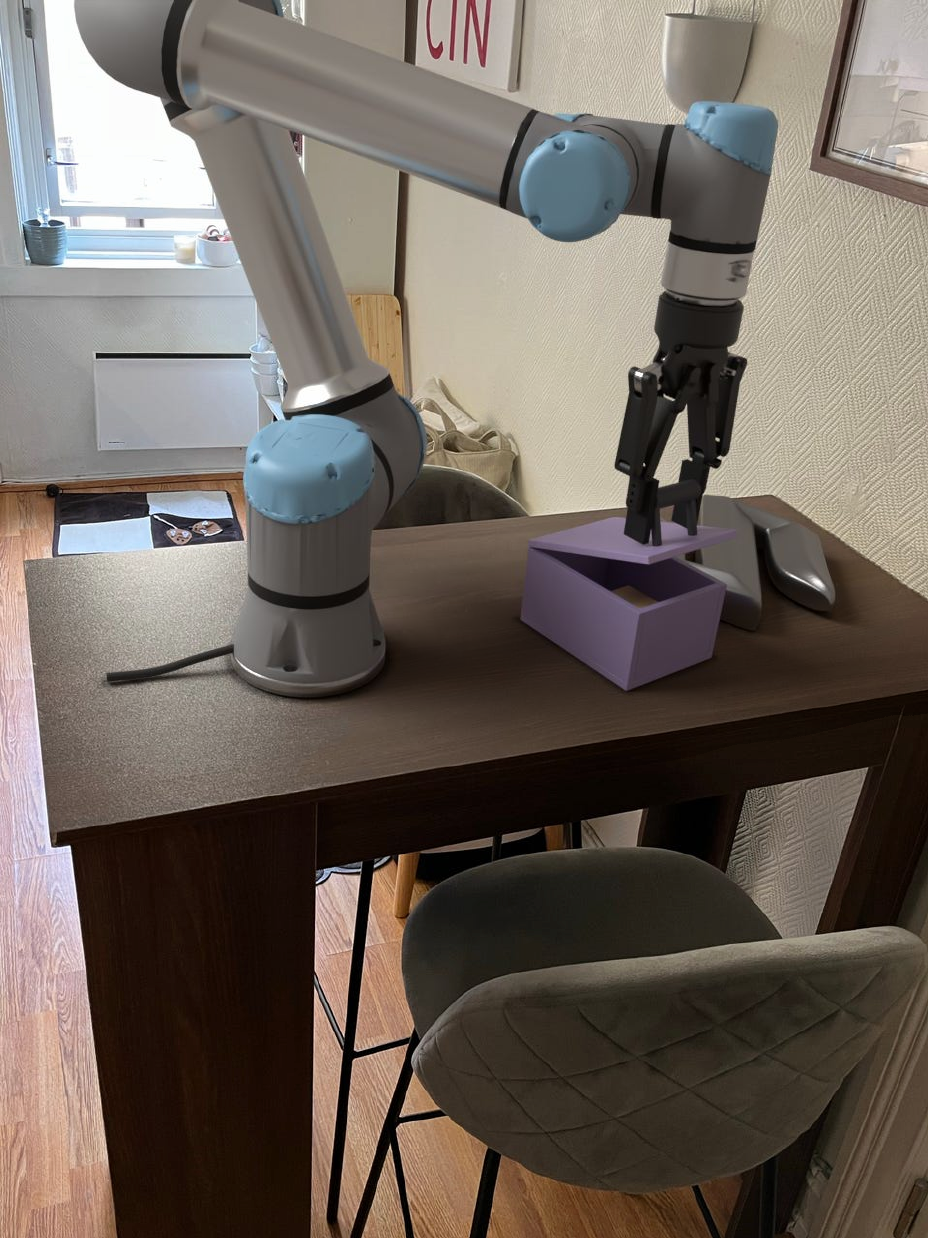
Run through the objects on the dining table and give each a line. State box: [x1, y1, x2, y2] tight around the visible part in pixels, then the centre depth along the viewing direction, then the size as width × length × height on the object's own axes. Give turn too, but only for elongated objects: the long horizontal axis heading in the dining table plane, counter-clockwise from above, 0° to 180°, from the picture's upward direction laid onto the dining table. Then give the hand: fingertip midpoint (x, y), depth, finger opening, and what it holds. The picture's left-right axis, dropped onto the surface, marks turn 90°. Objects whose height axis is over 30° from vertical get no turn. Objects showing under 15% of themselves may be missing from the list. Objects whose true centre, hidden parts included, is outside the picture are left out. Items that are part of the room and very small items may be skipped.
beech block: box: [611, 585, 658, 609], centre depth 117 cm, size 4×4×4 cm
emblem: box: [660, 494, 836, 631], centre depth 134 cm, size 28×5×28 cm
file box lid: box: [528, 479, 738, 565], centre depth 112 cm, size 17×13×6 cm
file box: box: [520, 547, 727, 692], centre depth 117 cm, size 17×13×9 cm
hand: (660, 531), depth 109 cm, fingers closed on file box lid, 6 cm apart
